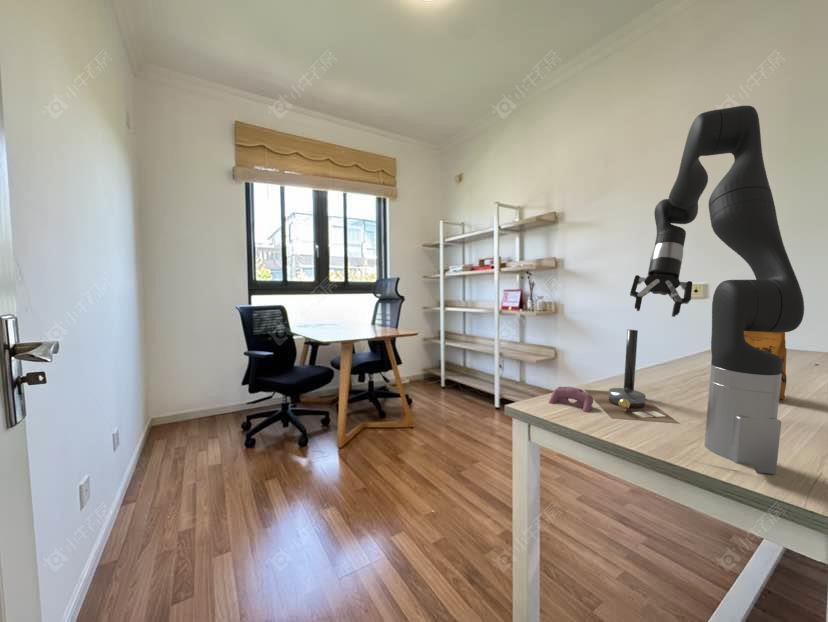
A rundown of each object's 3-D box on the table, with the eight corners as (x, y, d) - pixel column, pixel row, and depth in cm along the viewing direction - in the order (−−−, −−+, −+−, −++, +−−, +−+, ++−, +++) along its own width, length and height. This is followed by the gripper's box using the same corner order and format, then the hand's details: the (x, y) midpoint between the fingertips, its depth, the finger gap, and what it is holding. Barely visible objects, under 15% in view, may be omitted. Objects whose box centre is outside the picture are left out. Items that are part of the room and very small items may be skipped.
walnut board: (679, 429, 76) (680, 422, 76) (611, 424, 79) (611, 417, 79) (636, 397, 97) (636, 391, 97) (583, 394, 100) (583, 388, 100)
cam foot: (643, 417, 79) (648, 340, 77) (604, 409, 83) (608, 336, 82) (645, 395, 94) (650, 331, 92) (612, 390, 98) (616, 328, 97)
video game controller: (591, 421, 85) (596, 393, 87) (587, 417, 82) (592, 389, 83) (551, 410, 92) (557, 385, 93) (545, 407, 88) (551, 380, 90)
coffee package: (773, 403, 94) (781, 323, 92) (719, 390, 105) (725, 319, 103) (791, 399, 98) (800, 322, 96) (737, 386, 109) (743, 318, 107)
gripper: (638, 253, 101) (628, 304, 99) (699, 258, 94) (689, 314, 91) (636, 263, 108) (625, 312, 105) (693, 269, 100) (683, 321, 98)
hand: (655, 313), depth 98 cm, fingers open, 8 cm apart
